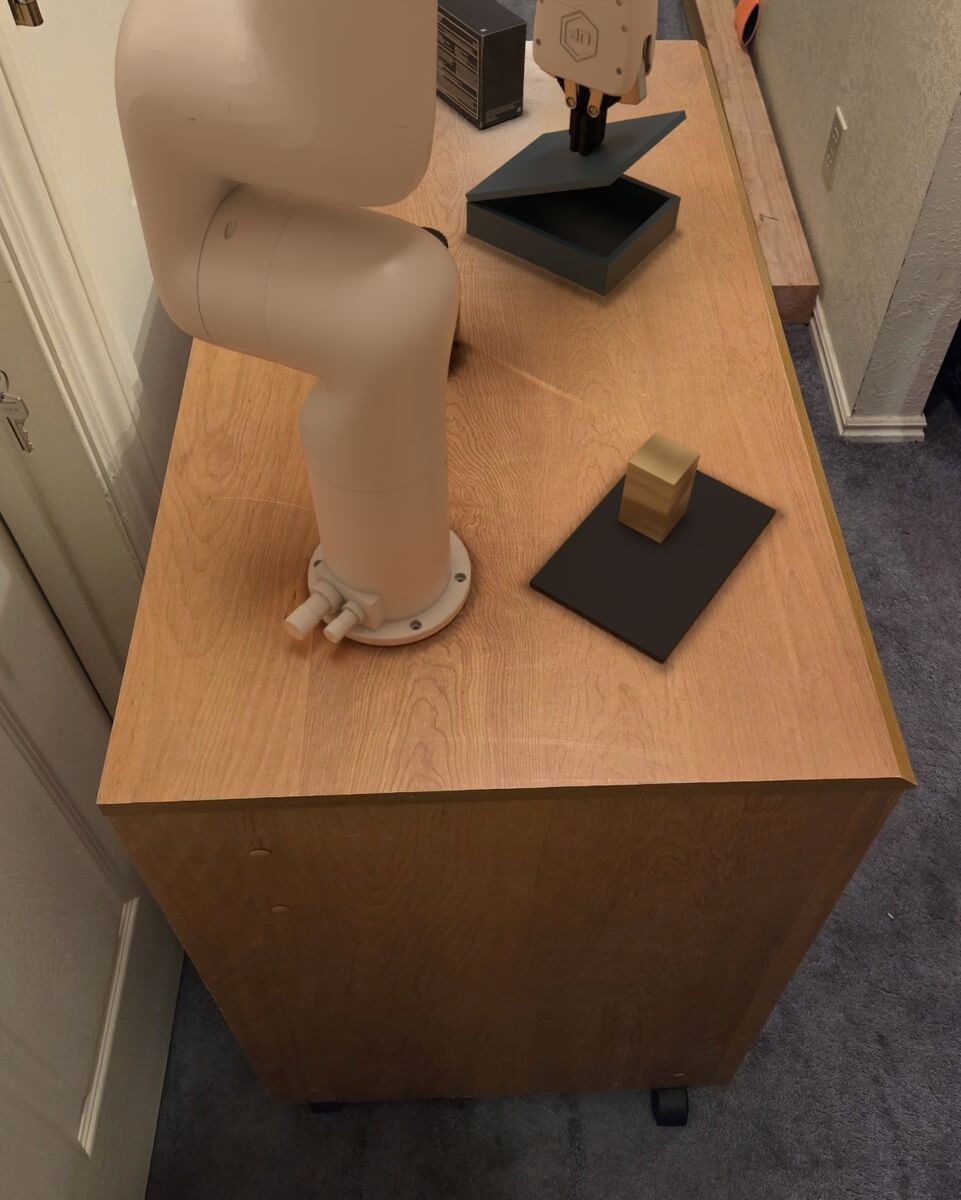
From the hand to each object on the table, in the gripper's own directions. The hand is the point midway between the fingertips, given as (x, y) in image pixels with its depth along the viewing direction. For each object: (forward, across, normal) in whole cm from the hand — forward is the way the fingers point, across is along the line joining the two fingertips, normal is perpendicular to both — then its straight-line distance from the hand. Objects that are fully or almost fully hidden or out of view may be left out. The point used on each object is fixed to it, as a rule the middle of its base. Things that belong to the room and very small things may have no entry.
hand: (585, 147), depth 98 cm
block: (+10, +25, -28) cm, 39 cm away
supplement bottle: (+10, -2, -23) cm, 25 cm away
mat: (+10, +27, -30) cm, 42 cm away
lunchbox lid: (+2, -1, 0) cm, 2 cm away
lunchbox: (+10, -1, 0) cm, 10 cm away
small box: (+10, -24, +15) cm, 30 cm away
